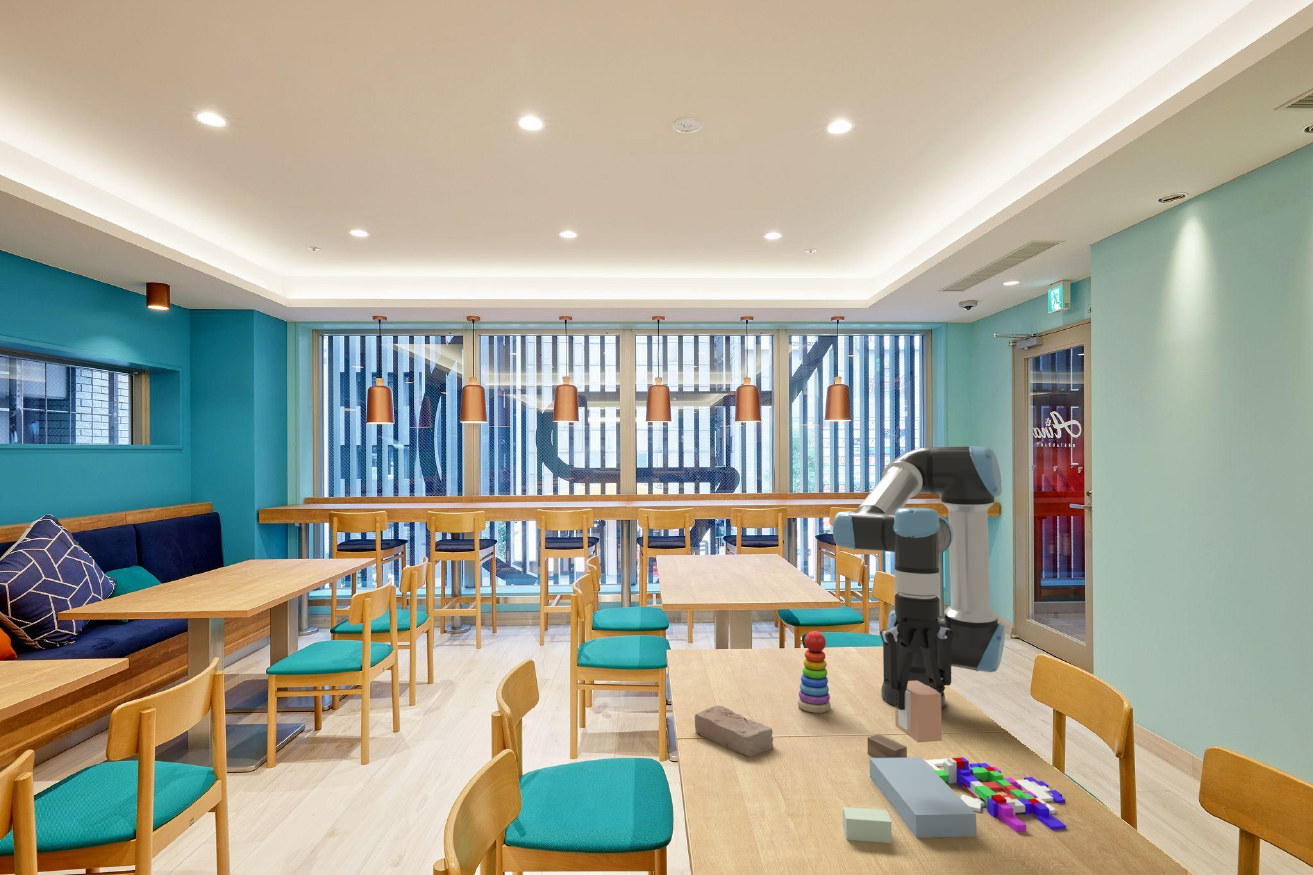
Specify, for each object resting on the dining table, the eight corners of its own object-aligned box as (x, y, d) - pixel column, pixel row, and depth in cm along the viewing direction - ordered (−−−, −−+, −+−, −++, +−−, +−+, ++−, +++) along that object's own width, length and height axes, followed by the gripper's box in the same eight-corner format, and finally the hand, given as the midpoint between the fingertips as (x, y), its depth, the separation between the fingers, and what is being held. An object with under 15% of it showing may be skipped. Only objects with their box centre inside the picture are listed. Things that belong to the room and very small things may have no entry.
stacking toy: (794, 711, 156) (794, 633, 157) (800, 699, 164) (800, 625, 165) (828, 716, 153) (828, 636, 154) (832, 704, 161) (832, 628, 162)
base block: (920, 778, 125) (920, 757, 125) (976, 838, 105) (976, 813, 105) (869, 779, 124) (869, 758, 124) (916, 840, 104) (915, 814, 104)
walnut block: (879, 750, 136) (879, 733, 136) (906, 764, 130) (906, 746, 130) (867, 754, 134) (867, 737, 134) (895, 768, 128) (895, 750, 128)
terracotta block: (917, 724, 119) (917, 680, 119) (941, 740, 112) (941, 693, 112) (895, 726, 118) (895, 681, 118) (918, 742, 111) (917, 695, 111)
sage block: (842, 828, 107) (842, 806, 107) (886, 831, 106) (886, 810, 106) (846, 840, 103) (846, 818, 104) (891, 844, 103) (891, 821, 103)
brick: (775, 747, 137) (775, 725, 137) (749, 759, 132) (749, 736, 132) (718, 724, 150) (718, 703, 150) (692, 733, 144) (692, 712, 144)
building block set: (1103, 829, 108) (1103, 801, 108) (991, 838, 105) (990, 810, 105) (1003, 760, 132) (1003, 738, 133) (910, 766, 130) (910, 743, 130)
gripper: (947, 588, 121) (948, 714, 120) (861, 591, 118) (861, 721, 117) (974, 597, 114) (975, 731, 113) (883, 600, 110) (884, 738, 109)
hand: (917, 725), depth 115 cm, fingers closed on terracotta block, 4 cm apart
